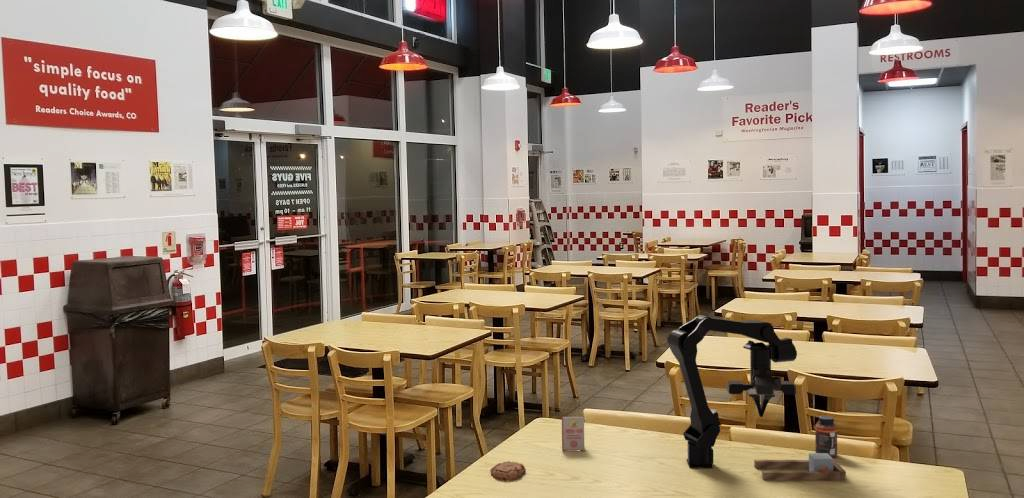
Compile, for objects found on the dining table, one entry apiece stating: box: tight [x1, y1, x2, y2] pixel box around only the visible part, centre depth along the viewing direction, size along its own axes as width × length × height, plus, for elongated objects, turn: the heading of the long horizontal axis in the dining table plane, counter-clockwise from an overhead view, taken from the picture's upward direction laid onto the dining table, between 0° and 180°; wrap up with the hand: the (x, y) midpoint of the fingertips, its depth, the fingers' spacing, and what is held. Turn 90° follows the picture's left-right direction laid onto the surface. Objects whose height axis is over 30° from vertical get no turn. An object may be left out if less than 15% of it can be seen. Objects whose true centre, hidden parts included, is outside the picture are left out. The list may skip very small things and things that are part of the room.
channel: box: [753, 458, 847, 482], centre depth 218 cm, size 22×11×3 cm, turn 85°
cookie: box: [489, 460, 527, 482], centre depth 222 cm, size 10×11×3 cm
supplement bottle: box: [814, 415, 838, 459], centre depth 233 cm, size 6×6×11 cm
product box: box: [561, 416, 585, 451], centre depth 244 cm, size 4×7×10 cm, turn 85°
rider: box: [808, 452, 834, 471], centre depth 218 cm, size 5×5×5 cm
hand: (760, 416), depth 232 cm, fingers closed
